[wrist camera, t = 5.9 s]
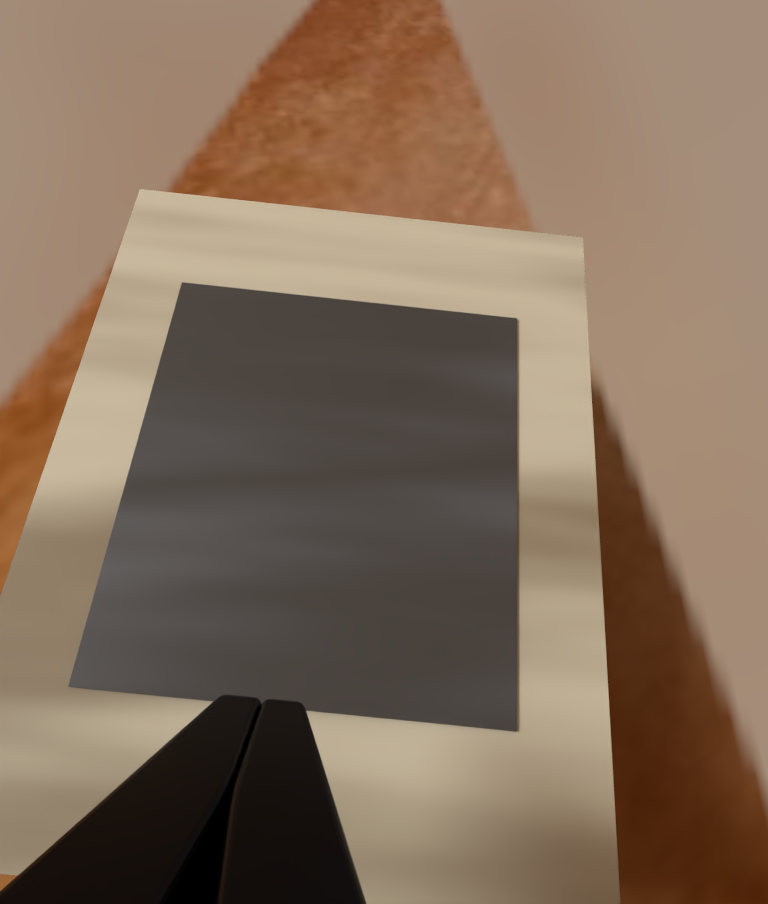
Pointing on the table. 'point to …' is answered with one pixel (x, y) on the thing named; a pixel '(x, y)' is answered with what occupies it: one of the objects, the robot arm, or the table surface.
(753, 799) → the table surface
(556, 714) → the birch block
